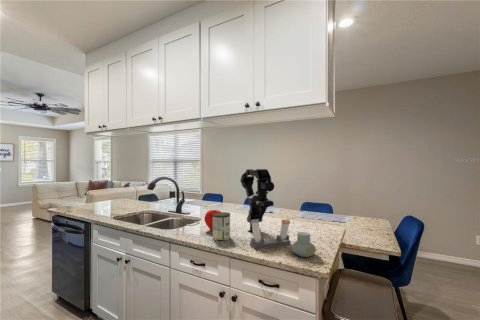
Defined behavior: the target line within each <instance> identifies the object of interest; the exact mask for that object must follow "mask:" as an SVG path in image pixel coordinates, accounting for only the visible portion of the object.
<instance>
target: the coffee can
mask: <svg viewBox="0 0 480 320" xmlns="http://www.w3.org/2000/svg"><path fill="white" fill-rule="evenodd" d="M212 216H213V230H212V240H213V239H216V240H215V241H217V240H225V241H229V240H231V213H230V212H225V211H221V212H218V213H213V214H212Z"/></svg>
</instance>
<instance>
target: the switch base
mask: <svg viewBox="0 0 480 320" xmlns="http://www.w3.org/2000/svg"><path fill="white" fill-rule="evenodd" d="M291 243H292V242H291V240H290V235H289V234H287V237H286V239H281V236H280V234H276V238H271V239H265V238H264V237H263V236H261V242H255V239H254V238H253V237H251V238H250V241H249V246H250V247H251V249H253V248H254V249H253V250H259V249H268V248H276V247H284V246H290V245H291ZM291 246H292V245H291Z"/></svg>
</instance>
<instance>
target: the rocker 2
mask: <svg viewBox="0 0 480 320" xmlns="http://www.w3.org/2000/svg"><path fill="white" fill-rule="evenodd" d="M290 224H291V220H290V219H289V218H288V219H287V218H286V219H285V218H284V219H281V226H280V232H279V236H281V239H286V237H287V235H288V232H289V226H290Z"/></svg>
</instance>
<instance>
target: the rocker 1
mask: <svg viewBox="0 0 480 320" xmlns="http://www.w3.org/2000/svg"><path fill="white" fill-rule="evenodd" d="M251 223H252V231H253V232H252V236H253V237H252V238H254V239H255V242H261V237H262V236H261V231H260V230H261V228H260V222H259V219H256V220H251Z"/></svg>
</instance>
